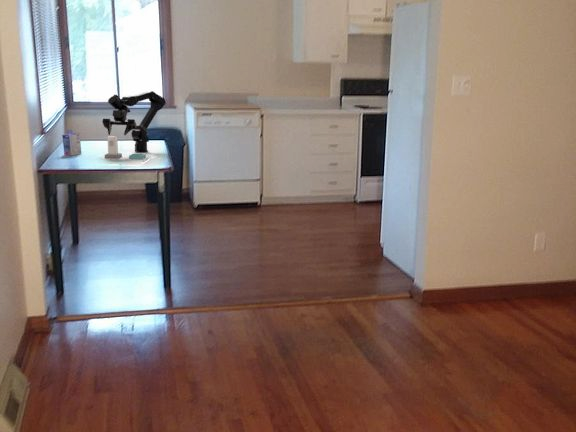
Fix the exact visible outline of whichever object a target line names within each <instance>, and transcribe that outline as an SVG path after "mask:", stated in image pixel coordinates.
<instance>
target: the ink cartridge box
mask: <svg viewBox="0 0 576 432" xmlns="http://www.w3.org/2000/svg"><path fill="white" fill-rule="evenodd" d="M66 132H67V134H62V135H61V136H62V144H63V145H62V146H63V154H64V156H69V157H72V156H75V155H80V154H82V146H81V145H82V144H81V134H80V133H79V132H78V133H77V132H73V131H72V130H71V129H68V130H66Z"/></svg>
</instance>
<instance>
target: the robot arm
mask: <svg viewBox="0 0 576 432" xmlns="http://www.w3.org/2000/svg"><path fill="white" fill-rule="evenodd" d="M145 100H148V101H149V102H150V107H149V109H148V111H147V112H146V114H145V116H144V117H143V119H142V120H141V122H140V124H139V125H137V122H136V120H135V119H133V118H130V119H129V118H128V119H127V115H128V113H131V110H130V108H129V107H133V106H135V105H137V104H138V103H139V102H142V101H145ZM107 102H108V104H109V105H110V106H111V107H112V108H113V109H114V110H112V117H113V120H111V118H103V119H102V121H101V122H102V124H103V127H104V128H105V129H107V133H108V134H107V135H108V136H111V133H112V127H113V126H114V125H115V126H125V129H124V132H123V135H124V136H126V135H127V134H129V133H131V137H132V140H133V142H135V143H134V151H135V152H138V153H145V152H146V153H147V152H149V150H148V142H149V141H150V138H149V136H148V135H147V134H148V128H149V126H150V124H151V123H152V121H153V119H154V118H155V116H156V114H157V113H158V112H159V111H160V110H161V109H163V108H164V107H165V105H166V100H165V98H164V97H163V96H161V95H159V94H157V93H156V92H155V91H152V90H147V91H145V92H142V93H139V94H135V95H124V96H122V97H121V98H120V96H119V95H117V94H113V95H112V96H110V97H109V98H108V100H107ZM126 120H127V121H126Z"/></svg>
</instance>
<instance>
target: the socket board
mask: <svg viewBox="0 0 576 432" xmlns="http://www.w3.org/2000/svg"><path fill="white" fill-rule="evenodd" d="M101 159H102V160H122V161H124V160H125V161H142V163H144V162H146V161H148V160H150V157H149V156H147V154H146V153H131V154H129V155H128V156H127V155H123V153H119V152H118V155H108V153H106V154H104V157H103V158H101Z"/></svg>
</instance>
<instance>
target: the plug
mask: <svg viewBox="0 0 576 432" xmlns="http://www.w3.org/2000/svg"><path fill="white" fill-rule="evenodd" d="M118 147H119V145H118V136H117V135H108V136H107V154H108V155H118V153H119V148H118Z"/></svg>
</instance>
